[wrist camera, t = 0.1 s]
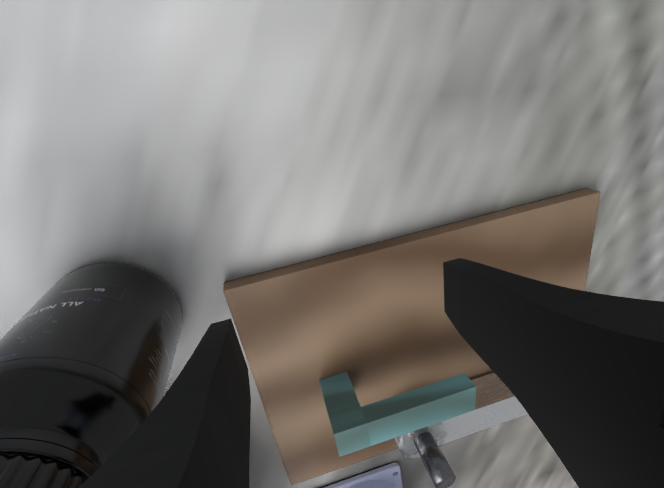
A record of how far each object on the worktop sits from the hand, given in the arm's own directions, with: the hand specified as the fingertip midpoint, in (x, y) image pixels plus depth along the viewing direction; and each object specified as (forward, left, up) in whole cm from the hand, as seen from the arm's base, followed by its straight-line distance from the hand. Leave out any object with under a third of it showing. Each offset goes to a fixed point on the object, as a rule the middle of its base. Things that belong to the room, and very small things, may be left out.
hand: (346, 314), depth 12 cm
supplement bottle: (-3, +11, -10) cm, 15 cm away
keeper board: (-12, -7, -10) cm, 17 cm away
